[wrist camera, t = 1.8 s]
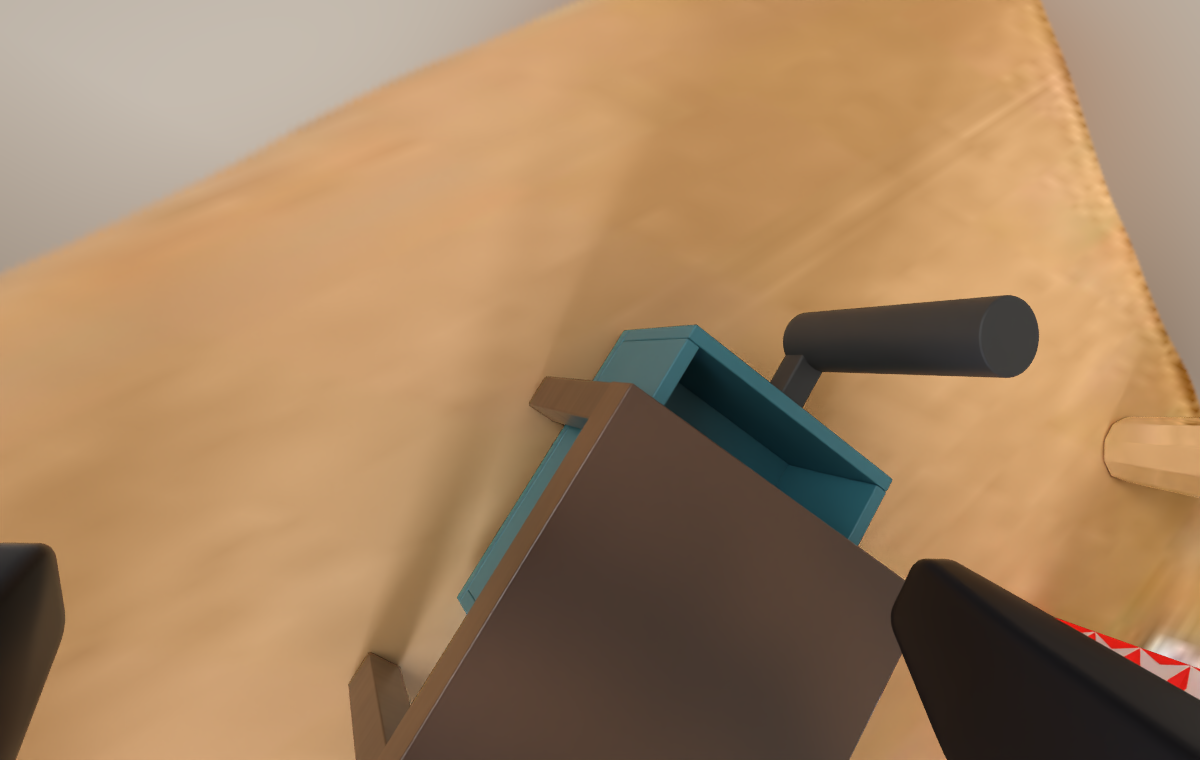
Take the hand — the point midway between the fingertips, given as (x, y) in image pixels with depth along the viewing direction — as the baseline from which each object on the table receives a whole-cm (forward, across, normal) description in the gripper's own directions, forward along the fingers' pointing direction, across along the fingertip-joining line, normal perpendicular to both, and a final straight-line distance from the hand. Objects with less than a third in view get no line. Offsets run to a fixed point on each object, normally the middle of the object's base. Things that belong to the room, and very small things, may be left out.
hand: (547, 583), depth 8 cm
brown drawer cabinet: (+13, -6, +13) cm, 20 cm away
